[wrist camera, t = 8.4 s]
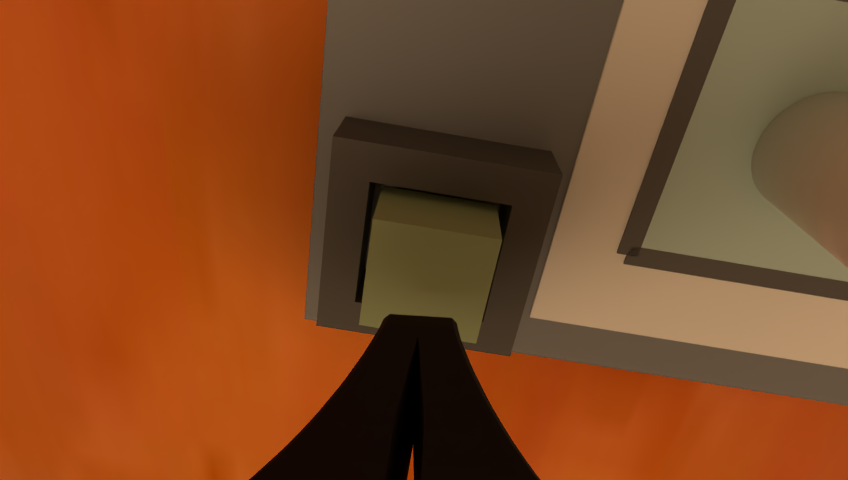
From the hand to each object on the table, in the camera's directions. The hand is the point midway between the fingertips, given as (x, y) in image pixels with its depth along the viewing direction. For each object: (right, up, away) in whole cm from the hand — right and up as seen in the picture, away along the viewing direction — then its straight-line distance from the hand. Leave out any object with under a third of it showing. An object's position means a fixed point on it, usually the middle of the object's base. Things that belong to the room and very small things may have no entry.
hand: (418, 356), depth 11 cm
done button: (0, +2, +4) cm, 5 cm away
